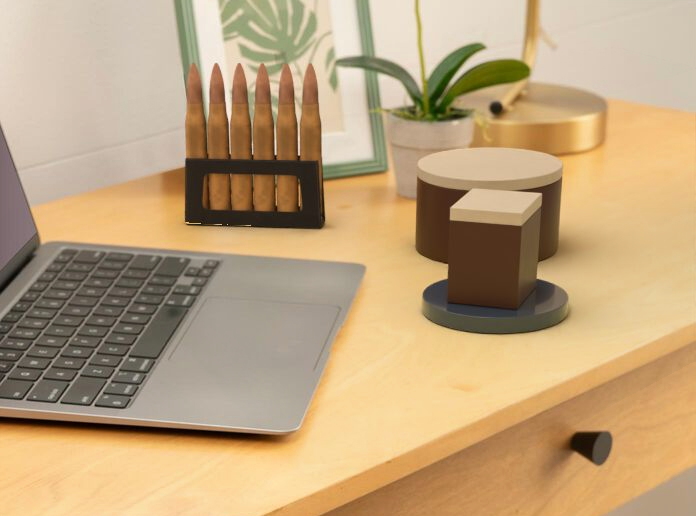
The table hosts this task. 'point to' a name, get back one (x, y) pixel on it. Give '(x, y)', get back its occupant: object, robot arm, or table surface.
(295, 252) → the table surface
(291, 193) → the ammunition clip
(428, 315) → the plate
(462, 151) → the cake
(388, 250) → the table surface
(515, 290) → the cake slice
